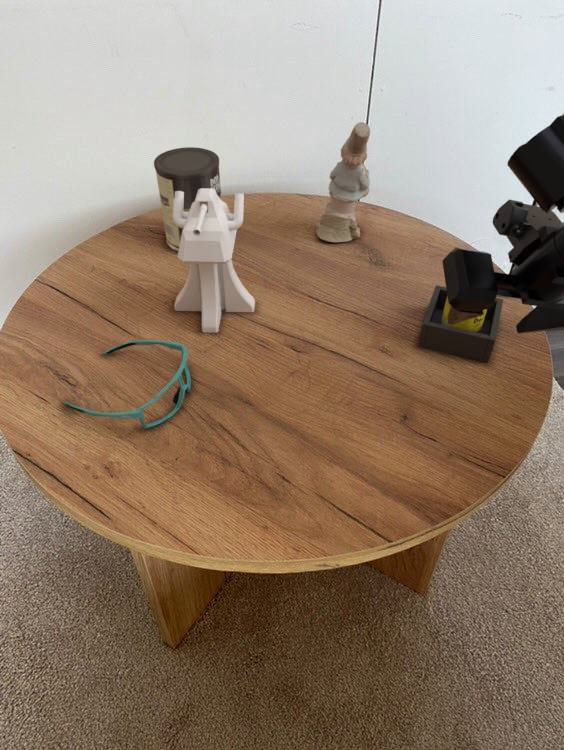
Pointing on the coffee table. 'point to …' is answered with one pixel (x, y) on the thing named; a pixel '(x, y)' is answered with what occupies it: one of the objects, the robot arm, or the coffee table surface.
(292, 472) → the coffee table surface
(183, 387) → the sunglasses
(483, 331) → the dark square open box
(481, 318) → the supplement bottle
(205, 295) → the toy gun turret
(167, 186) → the coffee can
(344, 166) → the figurine
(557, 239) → the robot arm
